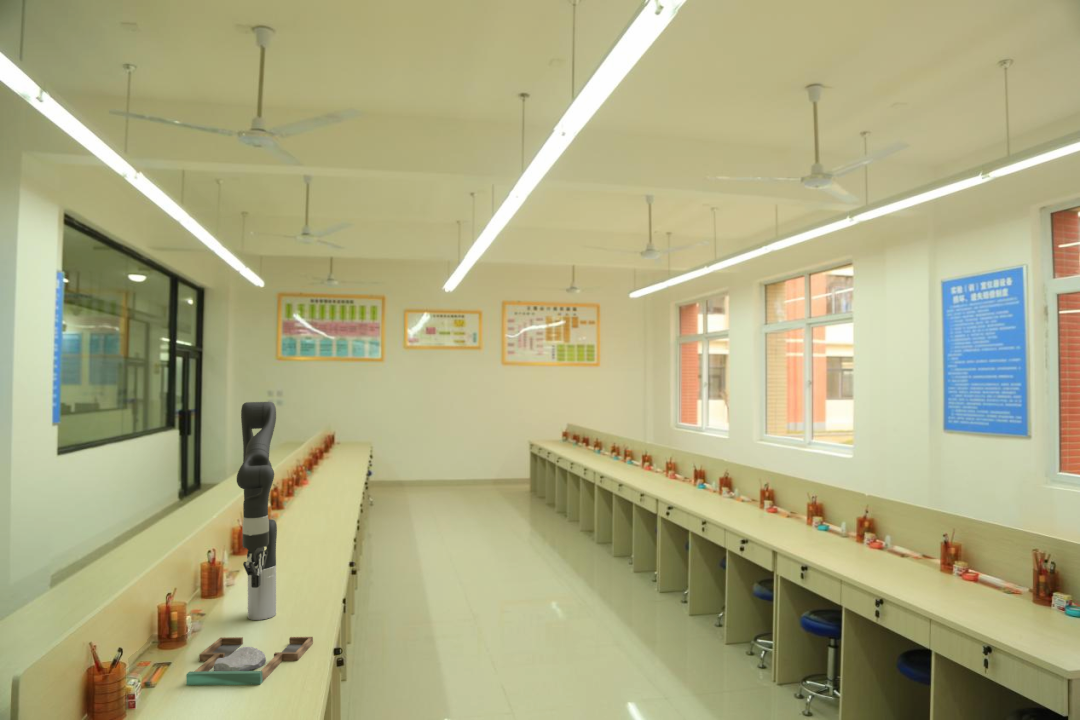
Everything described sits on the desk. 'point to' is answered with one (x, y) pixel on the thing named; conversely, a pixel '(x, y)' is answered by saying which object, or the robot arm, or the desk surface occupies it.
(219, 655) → the trap lane
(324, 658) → the desk surface
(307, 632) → the desk surface
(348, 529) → the desk surface
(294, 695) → the desk surface
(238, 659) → the stone block
